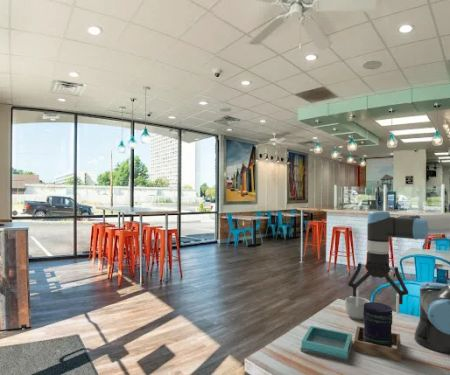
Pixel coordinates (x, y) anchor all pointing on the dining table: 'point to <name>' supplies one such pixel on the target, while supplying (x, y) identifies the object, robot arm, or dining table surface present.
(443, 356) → the dining table surface
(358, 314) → the teacup
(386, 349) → the walnut holder
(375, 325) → the navy oil drum
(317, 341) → the teal square tray
